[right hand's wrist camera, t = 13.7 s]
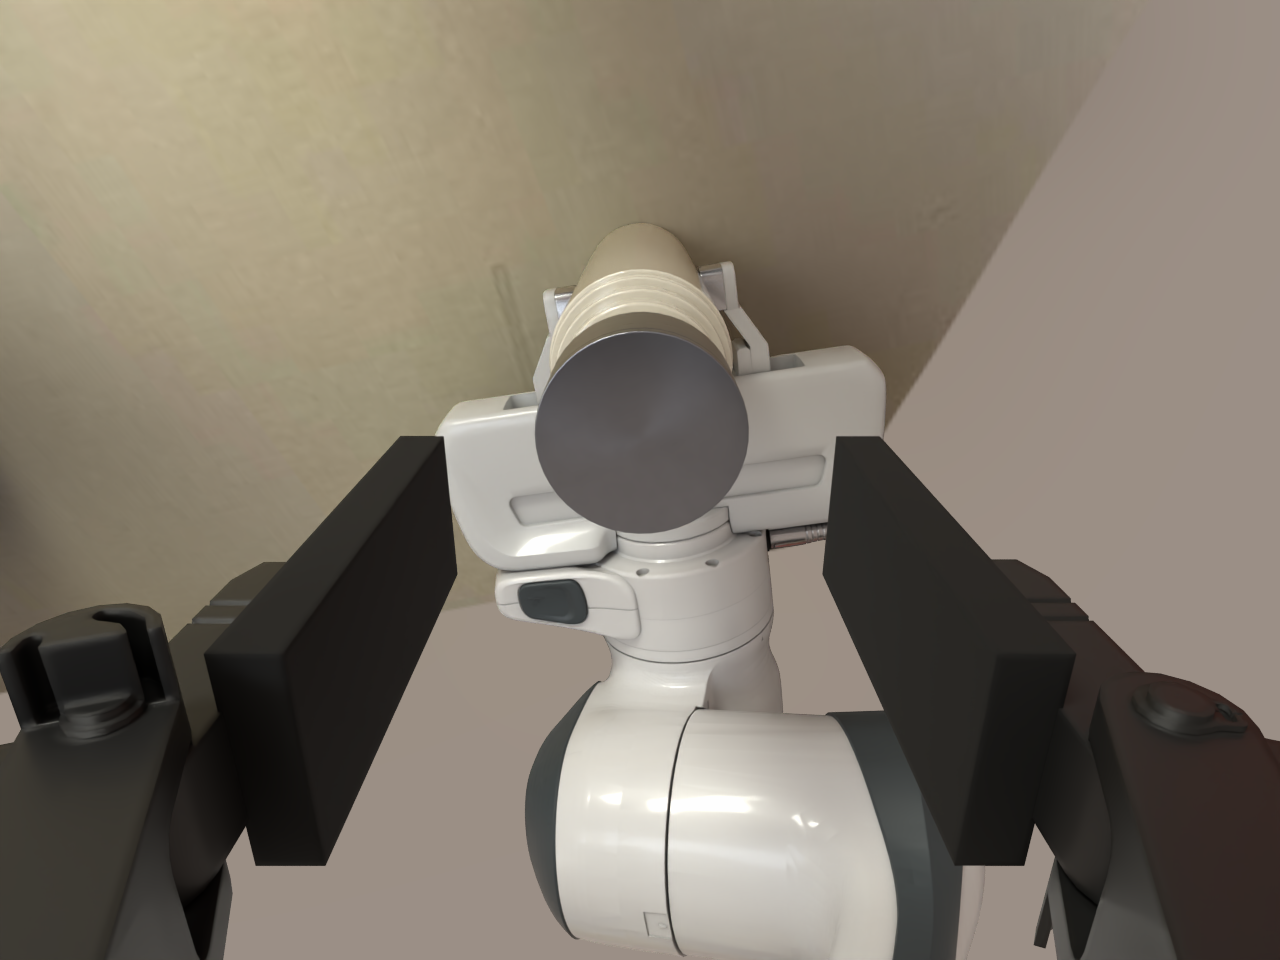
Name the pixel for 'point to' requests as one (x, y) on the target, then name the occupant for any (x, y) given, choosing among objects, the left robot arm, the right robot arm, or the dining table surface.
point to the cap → (641, 424)
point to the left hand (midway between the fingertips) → (636, 276)
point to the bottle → (640, 287)
